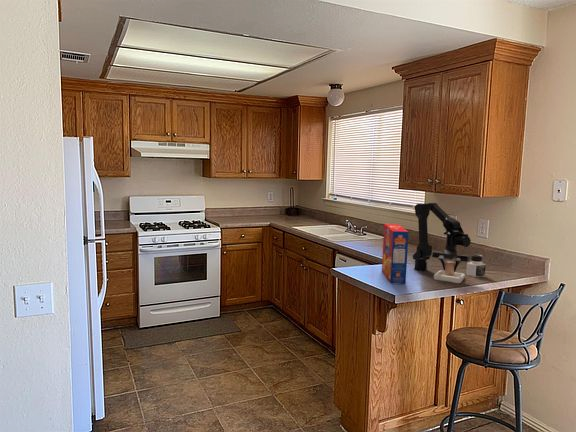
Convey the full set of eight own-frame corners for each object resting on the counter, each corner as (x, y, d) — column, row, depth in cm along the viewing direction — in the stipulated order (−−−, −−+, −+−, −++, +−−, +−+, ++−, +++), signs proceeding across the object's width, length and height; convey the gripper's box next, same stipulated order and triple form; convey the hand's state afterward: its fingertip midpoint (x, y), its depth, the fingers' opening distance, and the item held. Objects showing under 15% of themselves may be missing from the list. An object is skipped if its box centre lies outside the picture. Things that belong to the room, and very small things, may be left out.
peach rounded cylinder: (443, 274, 244) (444, 262, 243) (445, 273, 248) (446, 260, 247) (453, 276, 241) (454, 263, 240) (455, 274, 245) (455, 262, 244)
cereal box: (381, 270, 260) (384, 223, 257) (395, 271, 260) (398, 224, 256) (390, 283, 232) (392, 231, 229) (405, 284, 232) (408, 231, 228)
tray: (433, 279, 242) (433, 275, 242) (439, 274, 254) (439, 270, 254) (459, 283, 235) (460, 279, 235) (464, 278, 247) (464, 273, 247)
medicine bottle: (475, 277, 249) (477, 256, 247) (466, 274, 255) (467, 254, 254) (485, 276, 252) (486, 255, 250) (475, 273, 258) (476, 253, 257)
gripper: (430, 243, 240) (428, 271, 242) (467, 248, 231) (464, 277, 233) (435, 240, 250) (433, 267, 252) (470, 244, 240) (468, 272, 242)
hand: (449, 271), depth 244 cm, fingers closed on peach rounded cylinder, 5 cm apart
